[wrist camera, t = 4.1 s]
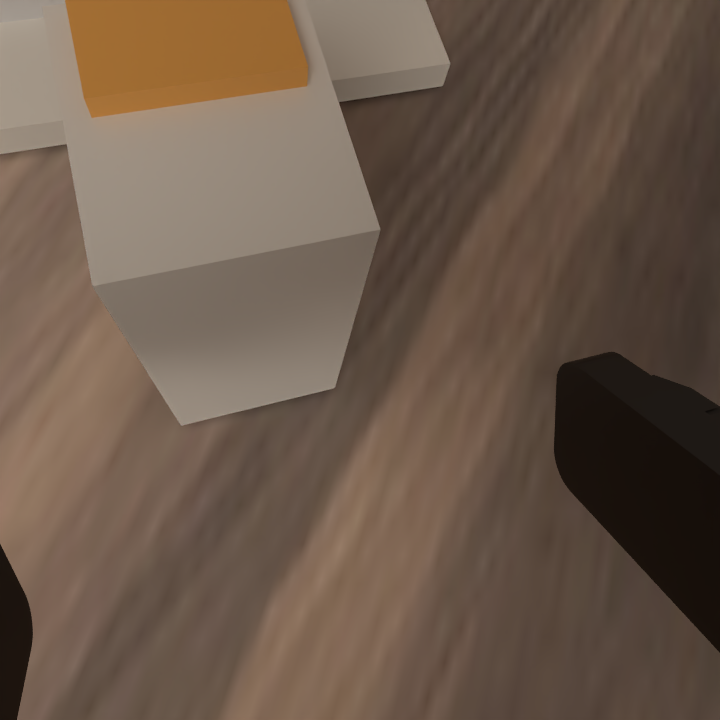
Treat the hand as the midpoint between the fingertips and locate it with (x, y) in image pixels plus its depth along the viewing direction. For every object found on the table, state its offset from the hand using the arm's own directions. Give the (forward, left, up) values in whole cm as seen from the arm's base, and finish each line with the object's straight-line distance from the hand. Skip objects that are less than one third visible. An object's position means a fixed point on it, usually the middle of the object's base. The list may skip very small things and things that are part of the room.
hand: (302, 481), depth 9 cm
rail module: (0, +7, -11) cm, 13 cm away
